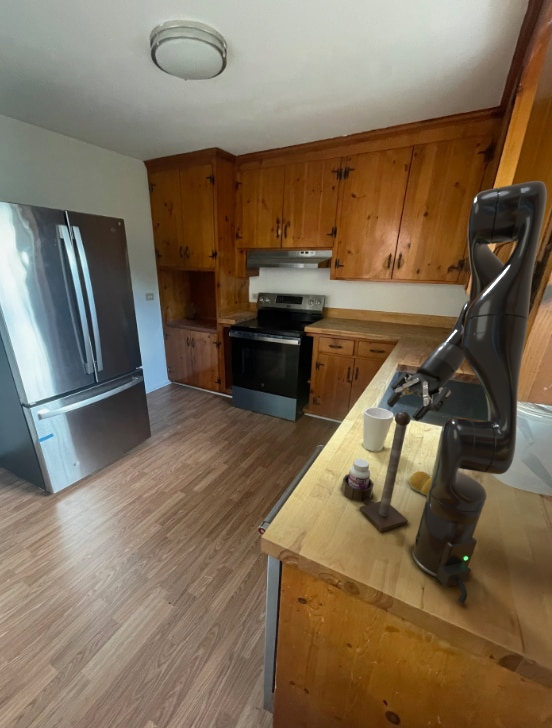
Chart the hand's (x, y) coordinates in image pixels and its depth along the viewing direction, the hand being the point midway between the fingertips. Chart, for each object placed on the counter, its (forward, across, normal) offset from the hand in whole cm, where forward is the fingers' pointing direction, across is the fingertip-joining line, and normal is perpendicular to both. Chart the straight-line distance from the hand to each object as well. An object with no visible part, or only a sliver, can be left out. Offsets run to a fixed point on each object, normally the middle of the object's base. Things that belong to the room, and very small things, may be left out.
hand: (401, 412), depth 86 cm
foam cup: (+10, -18, +25) cm, 32 cm away
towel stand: (+24, +5, +8) cm, 26 cm away
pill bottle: (+24, 0, +8) cm, 25 cm away
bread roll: (+11, +6, +22) cm, 25 cm away
